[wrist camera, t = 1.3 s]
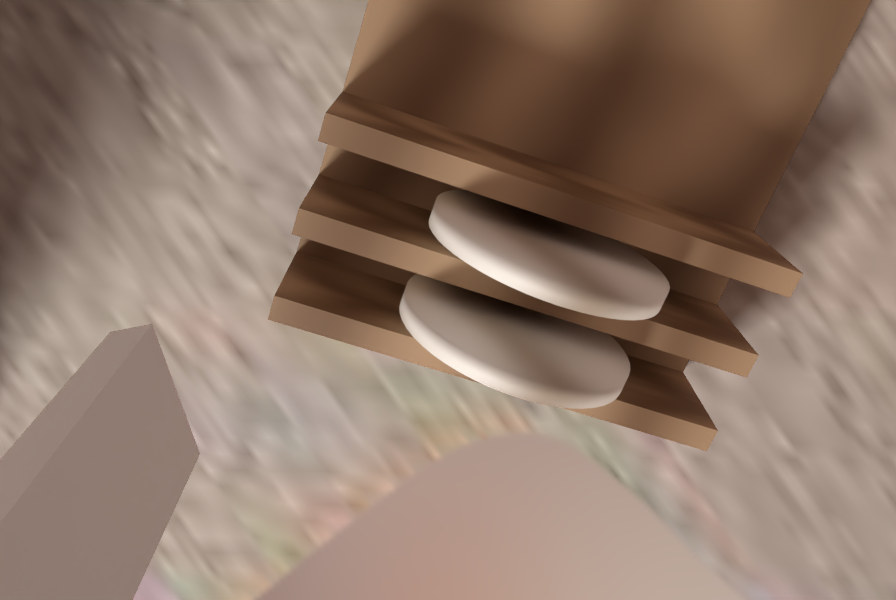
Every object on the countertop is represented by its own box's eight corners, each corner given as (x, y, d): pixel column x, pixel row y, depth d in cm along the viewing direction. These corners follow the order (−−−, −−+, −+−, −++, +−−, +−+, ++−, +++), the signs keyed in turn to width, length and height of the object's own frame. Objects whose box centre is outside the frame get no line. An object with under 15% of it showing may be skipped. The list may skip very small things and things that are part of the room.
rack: (295, 262, 36) (243, 368, 26) (440, -243, 29) (439, -346, 19) (666, 378, 38) (741, 513, 29) (886, -62, 31) (1082, -75, 21)
